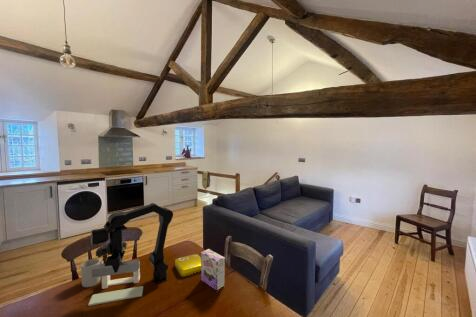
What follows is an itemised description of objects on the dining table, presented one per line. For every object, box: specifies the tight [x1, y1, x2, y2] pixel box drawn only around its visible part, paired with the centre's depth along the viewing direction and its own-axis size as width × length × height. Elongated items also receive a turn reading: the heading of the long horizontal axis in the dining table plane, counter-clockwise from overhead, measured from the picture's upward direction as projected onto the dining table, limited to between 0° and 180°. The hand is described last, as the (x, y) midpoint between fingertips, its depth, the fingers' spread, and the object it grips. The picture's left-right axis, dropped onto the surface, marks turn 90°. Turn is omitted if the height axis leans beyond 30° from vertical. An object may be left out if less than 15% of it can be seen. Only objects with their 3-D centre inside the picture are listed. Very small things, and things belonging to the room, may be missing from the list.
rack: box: [101, 261, 141, 290], centre depth 121 cm, size 18×7×8 cm, turn 108°
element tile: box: [174, 253, 201, 277], centre depth 136 cm, size 15×15×5 cm
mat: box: [87, 285, 144, 307], centre depth 110 cm, size 23×7×1 cm, turn 108°
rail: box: [92, 259, 140, 278], centre depth 110 cm, size 20×4×4 cm, turn 107°
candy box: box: [200, 248, 226, 291], centre depth 121 cm, size 14×6×16 cm, turn 46°
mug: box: [80, 258, 103, 288], centre depth 122 cm, size 12×8×11 cm
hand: (116, 269), depth 110 cm, fingers closed on rail, 4 cm apart
